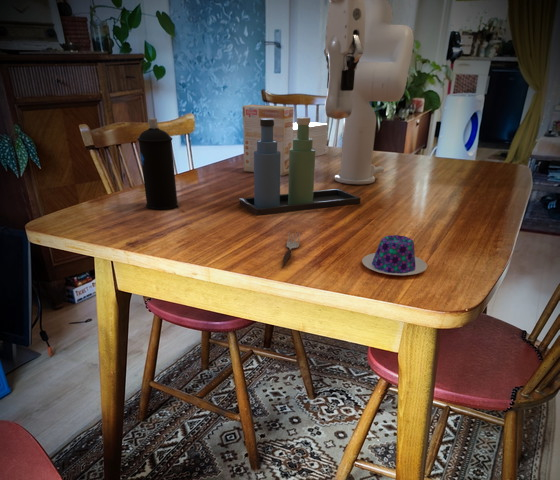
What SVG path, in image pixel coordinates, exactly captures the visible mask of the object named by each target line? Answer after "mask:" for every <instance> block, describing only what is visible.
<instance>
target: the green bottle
mask: <svg viewBox="0 0 560 480" xmlns="http://www.w3.org/2000/svg"><path fill="white" fill-rule="evenodd" d="M310 122H311V117H309V116H298V117H296V123H297V124H298V125H297V138H294V139H293V148H292V149H290V150H289V174H288V188H287V189H288V193H287V194H288V205H293V204H302V203H311V202H313V191H315V190H314V188H315V187H314V185H315V171H316V170H315V167H316V156H315V149H312V144H313V139H311V138H309V125H310Z"/></svg>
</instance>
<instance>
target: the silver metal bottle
mask: <svg viewBox="0 0 560 480" xmlns="http://www.w3.org/2000/svg"><path fill="white" fill-rule="evenodd" d="M328 51H329V53H328V54H329V85H328V88H327V94H326V98H325V104H324V113H325V116H327V117H328V118H330V119H333V120H336V121H337V120H339V121H340V120H344V118H348V117H349V116H350V115H351V113H352V108H353V103H352V97H351V96H352V91H341V76H342V70H344V65H343V58H344V57H343V56H344V55H342V54H341V53H340V51H341V47H340V42H339V40H338V38H337V37H336V36H333V37H332V39H331V40H330V42H329V46H328ZM353 52H354V50H353V49H349V52H348V53H352V54H353ZM349 59H350V57H348V61H349Z"/></svg>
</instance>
